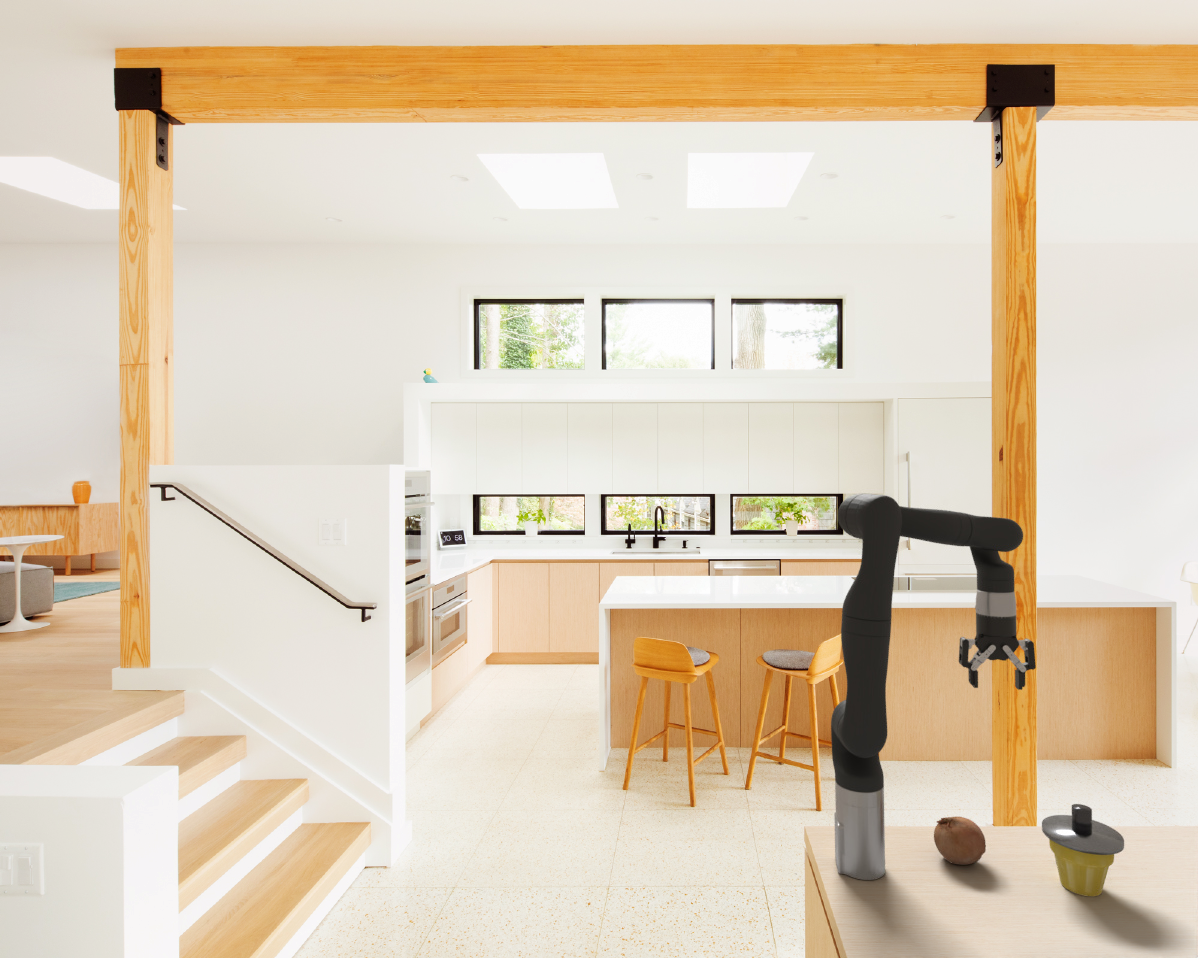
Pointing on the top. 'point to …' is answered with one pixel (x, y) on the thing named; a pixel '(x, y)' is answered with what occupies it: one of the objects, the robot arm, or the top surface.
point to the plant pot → (1081, 869)
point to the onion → (959, 840)
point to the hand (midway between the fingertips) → (996, 687)
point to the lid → (1083, 832)
